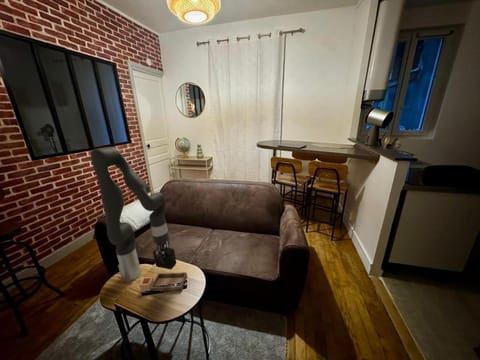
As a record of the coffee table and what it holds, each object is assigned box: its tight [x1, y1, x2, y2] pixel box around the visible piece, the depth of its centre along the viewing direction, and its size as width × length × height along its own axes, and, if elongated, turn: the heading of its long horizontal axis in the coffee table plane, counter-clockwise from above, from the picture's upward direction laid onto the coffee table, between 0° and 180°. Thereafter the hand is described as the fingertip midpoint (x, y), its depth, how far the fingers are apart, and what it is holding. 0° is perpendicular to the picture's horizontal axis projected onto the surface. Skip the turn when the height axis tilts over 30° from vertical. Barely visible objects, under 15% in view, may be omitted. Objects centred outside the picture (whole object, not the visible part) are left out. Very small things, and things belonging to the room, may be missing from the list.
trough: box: [150, 271, 188, 293], centre depth 106 cm, size 16×10×3 cm, turn 90°
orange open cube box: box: [139, 276, 155, 293], centre depth 103 cm, size 5×5×5 cm
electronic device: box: [152, 247, 177, 271], centre depth 102 cm, size 4×10×10 cm, turn 74°
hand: (165, 259), depth 102 cm, fingers closed on electronic device, 3 cm apart
